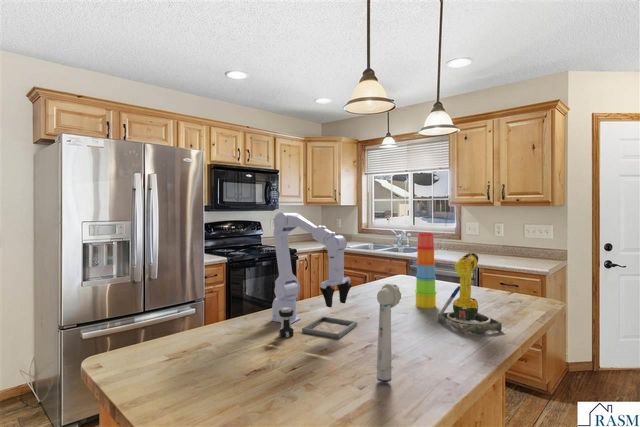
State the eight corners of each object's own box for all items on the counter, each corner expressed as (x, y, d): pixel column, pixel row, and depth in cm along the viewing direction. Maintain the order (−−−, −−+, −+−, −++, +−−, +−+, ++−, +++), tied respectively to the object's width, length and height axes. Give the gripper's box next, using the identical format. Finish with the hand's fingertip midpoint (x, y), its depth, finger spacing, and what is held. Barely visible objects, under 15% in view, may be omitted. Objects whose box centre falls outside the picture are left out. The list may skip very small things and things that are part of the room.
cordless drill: (507, 331, 133) (506, 256, 133) (462, 335, 129) (461, 258, 129) (474, 317, 151) (474, 252, 151) (434, 321, 146) (433, 253, 147)
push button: (278, 340, 124) (278, 311, 124) (272, 335, 129) (272, 308, 129) (295, 337, 128) (295, 309, 128) (290, 332, 132) (289, 305, 132)
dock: (302, 332, 133) (302, 328, 132) (323, 320, 148) (323, 316, 148) (338, 339, 126) (338, 334, 126) (357, 325, 141) (357, 321, 141)
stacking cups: (441, 308, 166) (441, 233, 165) (427, 311, 160) (427, 234, 160) (424, 303, 174) (424, 232, 174) (409, 306, 168) (409, 232, 168)
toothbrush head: (371, 378, 96) (371, 284, 96) (386, 370, 101) (386, 281, 101) (387, 385, 92) (387, 288, 92) (402, 376, 97) (402, 284, 97)
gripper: (330, 271, 124) (330, 310, 125) (356, 267, 135) (356, 303, 135) (316, 269, 129) (316, 306, 130) (342, 265, 140) (342, 299, 140)
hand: (335, 304), depth 133 cm, fingers open, 7 cm apart
